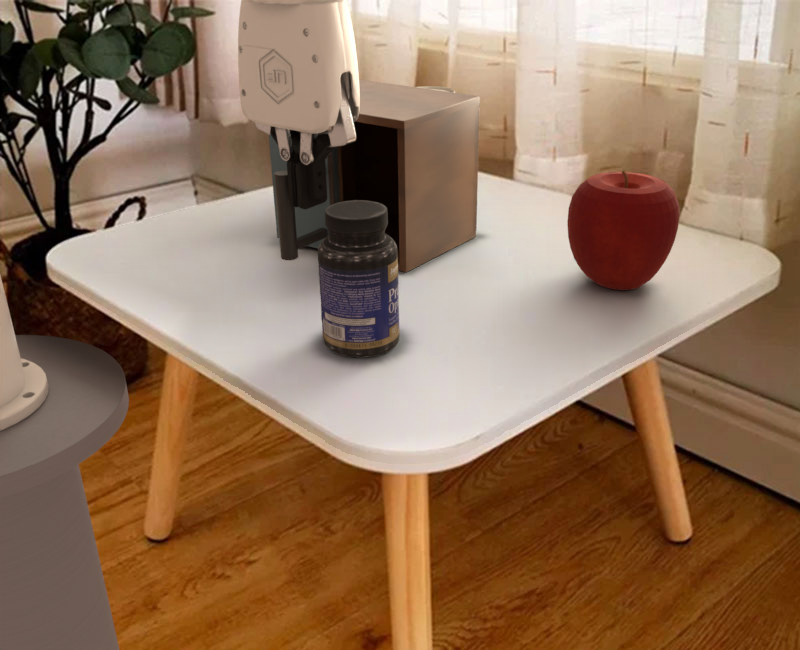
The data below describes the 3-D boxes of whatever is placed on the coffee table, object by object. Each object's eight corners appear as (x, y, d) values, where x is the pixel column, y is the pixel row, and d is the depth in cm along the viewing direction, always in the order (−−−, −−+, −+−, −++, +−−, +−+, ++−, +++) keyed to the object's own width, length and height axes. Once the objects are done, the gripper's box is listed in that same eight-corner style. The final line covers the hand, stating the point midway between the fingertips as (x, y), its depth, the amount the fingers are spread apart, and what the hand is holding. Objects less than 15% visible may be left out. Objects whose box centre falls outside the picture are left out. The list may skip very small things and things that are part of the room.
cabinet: (406, 272, 88) (404, 120, 81) (281, 239, 97) (270, 99, 90) (476, 236, 96) (480, 96, 89) (355, 208, 105) (350, 78, 98)
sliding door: (296, 272, 87) (285, 132, 81) (235, 254, 91) (221, 120, 85) (342, 251, 92) (336, 117, 85) (282, 235, 96) (272, 106, 89)
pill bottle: (406, 355, 73) (405, 218, 68) (329, 364, 72) (321, 225, 67) (390, 323, 78) (387, 193, 73) (318, 330, 77) (309, 200, 72)
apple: (692, 293, 83) (708, 182, 78) (596, 311, 80) (608, 196, 75) (632, 257, 91) (644, 154, 86) (543, 272, 88) (550, 165, 83)
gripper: (194, -22, 76) (219, 200, 85) (333, -11, 68) (345, 232, 77) (260, -30, 81) (277, 180, 90) (397, -21, 73) (401, 208, 82)
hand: (308, 203), depth 84 cm, fingers closed
